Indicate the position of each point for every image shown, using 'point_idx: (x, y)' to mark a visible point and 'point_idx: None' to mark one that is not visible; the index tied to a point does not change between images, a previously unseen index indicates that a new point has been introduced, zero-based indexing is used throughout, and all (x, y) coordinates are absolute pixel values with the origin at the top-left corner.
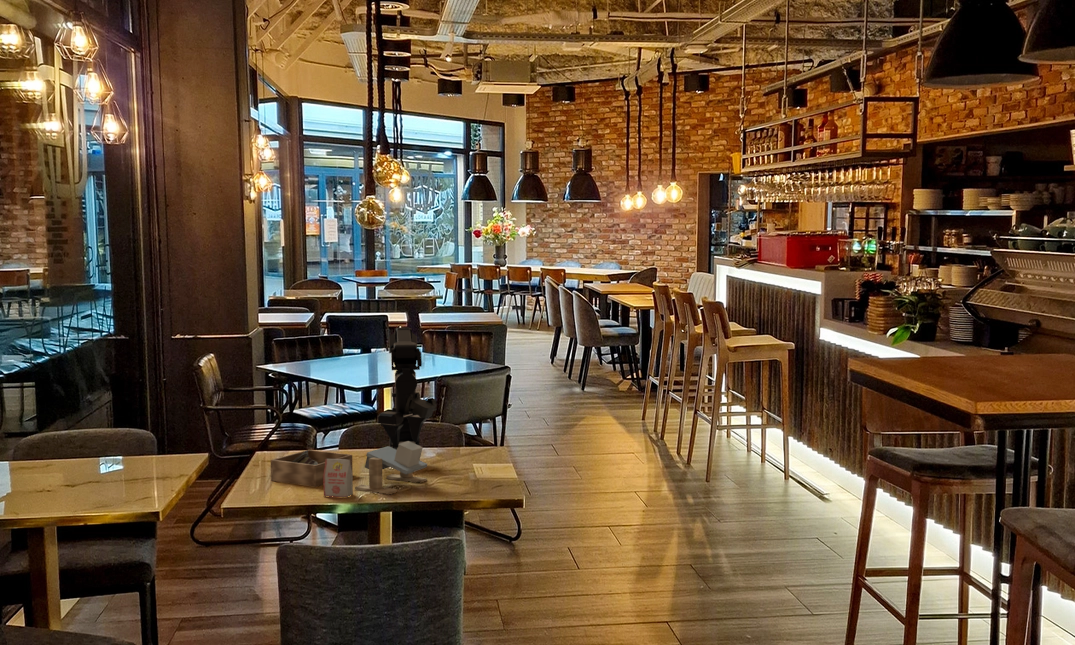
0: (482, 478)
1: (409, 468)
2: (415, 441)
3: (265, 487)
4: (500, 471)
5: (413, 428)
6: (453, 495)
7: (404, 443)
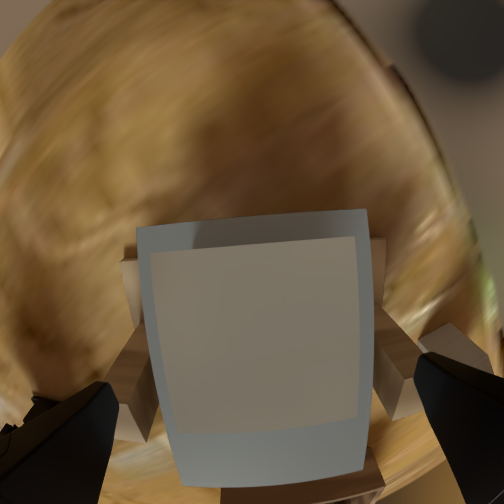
0: (11, 119)
1: (321, 228)
2: (111, 392)
3: (394, 477)
4: None
5: (72, 501)
6: (258, 20)
7: (277, 410)
